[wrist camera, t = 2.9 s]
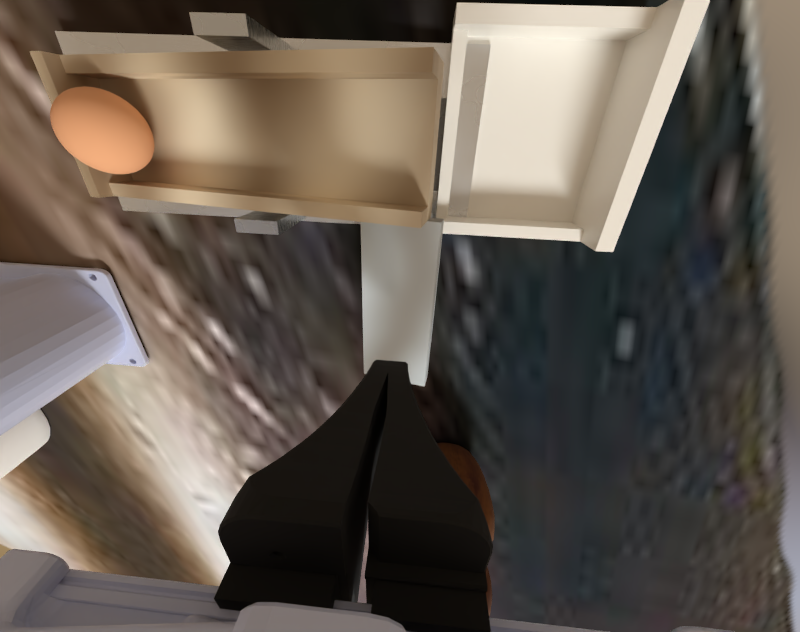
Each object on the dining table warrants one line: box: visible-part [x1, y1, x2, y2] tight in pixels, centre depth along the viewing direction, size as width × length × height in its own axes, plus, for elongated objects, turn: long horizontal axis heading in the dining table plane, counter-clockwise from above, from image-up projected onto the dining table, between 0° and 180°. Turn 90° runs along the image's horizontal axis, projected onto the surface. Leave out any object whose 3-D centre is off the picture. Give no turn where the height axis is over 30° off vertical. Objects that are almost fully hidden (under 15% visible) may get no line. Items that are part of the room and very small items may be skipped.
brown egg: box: [50, 86, 155, 174], centre depth 13 cm, size 3×3×3 cm
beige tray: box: [30, 47, 444, 387], centre depth 15 cm, size 17×15×3 cm
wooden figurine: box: [437, 443, 494, 615], centre depth 21 cm, size 7×6×15 cm
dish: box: [435, 0, 710, 252], centre depth 14 cm, size 8×9×4 cm
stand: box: [55, 12, 491, 235], centre depth 14 cm, size 20×8×4 cm, turn 88°
